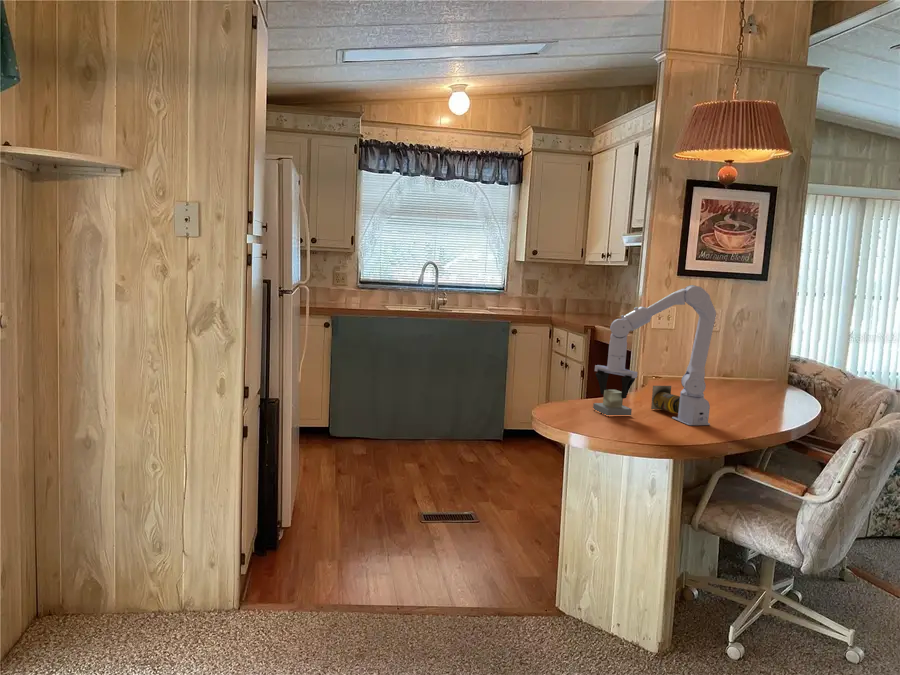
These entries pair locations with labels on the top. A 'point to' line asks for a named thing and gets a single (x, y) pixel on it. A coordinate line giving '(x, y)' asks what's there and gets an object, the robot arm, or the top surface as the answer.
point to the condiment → (664, 399)
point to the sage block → (612, 398)
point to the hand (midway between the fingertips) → (613, 395)
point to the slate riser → (612, 409)
